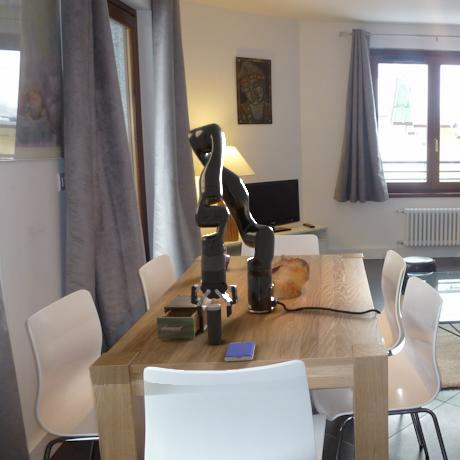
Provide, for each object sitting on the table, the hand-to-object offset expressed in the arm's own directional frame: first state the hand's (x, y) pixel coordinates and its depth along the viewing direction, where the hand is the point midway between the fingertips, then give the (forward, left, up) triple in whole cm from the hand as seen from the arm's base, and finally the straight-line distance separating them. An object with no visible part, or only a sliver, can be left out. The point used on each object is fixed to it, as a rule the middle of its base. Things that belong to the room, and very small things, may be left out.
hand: (215, 316), depth 203 cm
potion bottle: (+22, -102, -9) cm, 105 cm away
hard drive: (-10, +10, -9) cm, 17 cm away
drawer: (+13, -6, -8) cm, 16 cm away
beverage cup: (+14, -47, -9) cm, 50 cm away
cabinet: (+13, -18, -9) cm, 24 cm away
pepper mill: (0, 0, -9) cm, 9 cm away
